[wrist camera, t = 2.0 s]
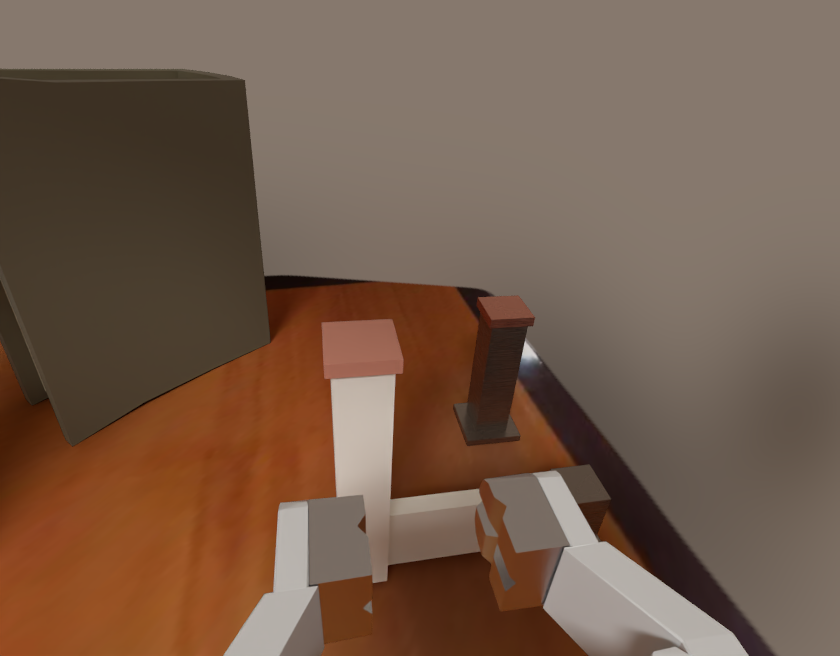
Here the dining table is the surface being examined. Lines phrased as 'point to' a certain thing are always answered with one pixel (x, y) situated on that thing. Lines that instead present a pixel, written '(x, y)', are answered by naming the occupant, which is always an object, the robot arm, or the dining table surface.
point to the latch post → (494, 371)
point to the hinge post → (587, 493)
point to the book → (125, 235)
